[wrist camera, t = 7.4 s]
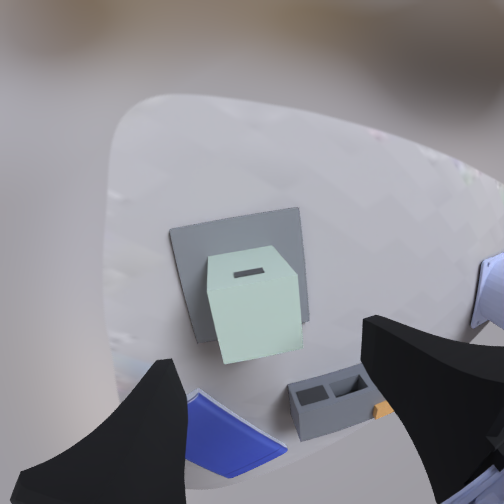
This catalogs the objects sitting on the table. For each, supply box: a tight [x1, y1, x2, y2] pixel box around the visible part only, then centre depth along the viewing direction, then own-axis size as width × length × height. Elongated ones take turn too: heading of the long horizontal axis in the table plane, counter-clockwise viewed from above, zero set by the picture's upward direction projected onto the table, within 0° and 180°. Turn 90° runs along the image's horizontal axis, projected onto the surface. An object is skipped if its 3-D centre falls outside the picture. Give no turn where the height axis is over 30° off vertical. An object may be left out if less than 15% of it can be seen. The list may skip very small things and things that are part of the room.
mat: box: [169, 207, 309, 343], centre depth 18 cm, size 8×8×1 cm
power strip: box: [288, 363, 394, 442], centre depth 20 cm, size 9×4×4 cm, turn 99°
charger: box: [207, 245, 303, 364], centre depth 16 cm, size 4×6×6 cm
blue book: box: [185, 388, 288, 478], centre depth 22 cm, size 2×8×12 cm
